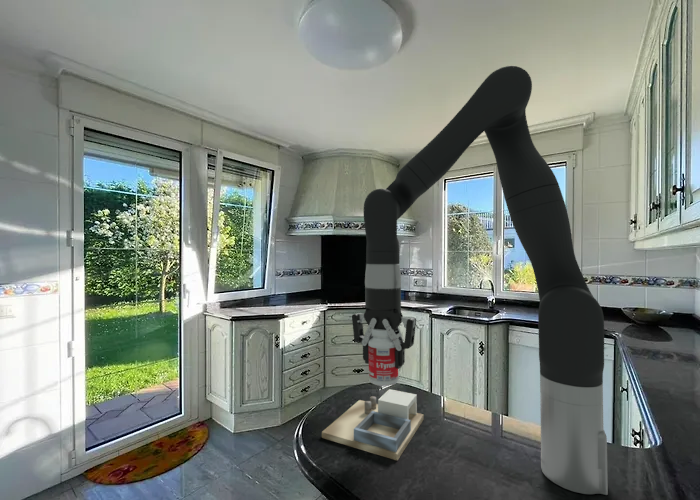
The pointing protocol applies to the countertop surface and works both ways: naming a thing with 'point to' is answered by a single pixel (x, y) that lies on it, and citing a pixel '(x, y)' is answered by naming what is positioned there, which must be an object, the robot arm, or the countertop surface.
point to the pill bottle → (382, 359)
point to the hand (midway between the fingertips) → (383, 364)
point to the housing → (398, 404)
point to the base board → (373, 429)
